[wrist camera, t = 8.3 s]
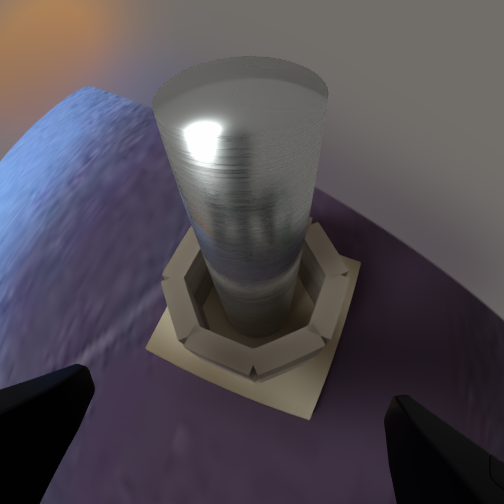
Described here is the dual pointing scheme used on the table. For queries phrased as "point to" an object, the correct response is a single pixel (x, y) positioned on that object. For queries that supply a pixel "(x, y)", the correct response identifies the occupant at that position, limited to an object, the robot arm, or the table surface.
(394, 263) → the table surface
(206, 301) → the cup bracket
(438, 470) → the robot arm
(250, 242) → the grey glossy cylinder
